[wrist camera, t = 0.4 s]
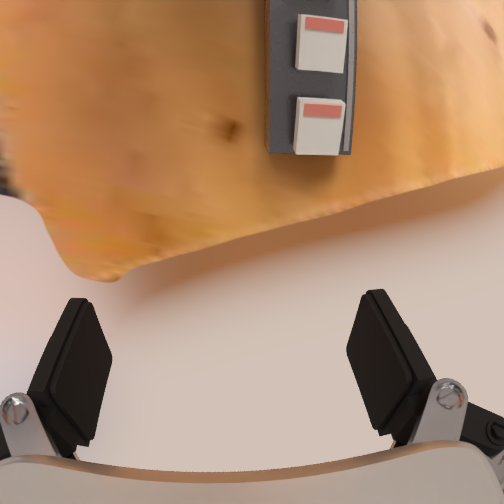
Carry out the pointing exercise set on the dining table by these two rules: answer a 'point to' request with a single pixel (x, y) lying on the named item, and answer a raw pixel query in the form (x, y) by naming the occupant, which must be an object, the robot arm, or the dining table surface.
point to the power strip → (304, 81)
